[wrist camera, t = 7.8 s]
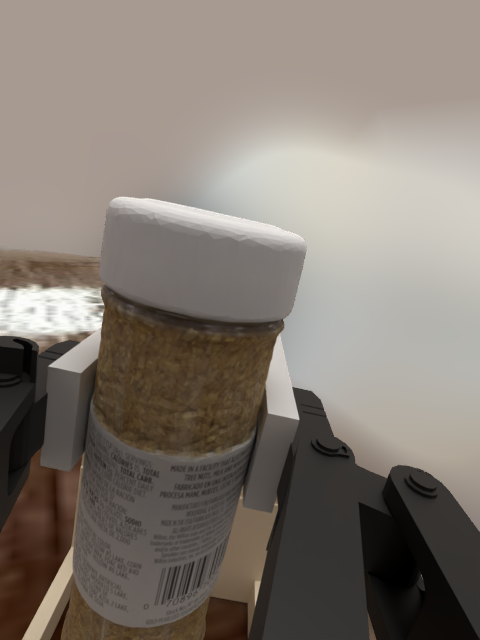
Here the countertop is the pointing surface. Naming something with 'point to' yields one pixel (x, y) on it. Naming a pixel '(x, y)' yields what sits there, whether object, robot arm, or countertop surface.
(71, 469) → the robot arm
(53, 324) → the countertop surface
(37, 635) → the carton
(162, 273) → the spice jar
